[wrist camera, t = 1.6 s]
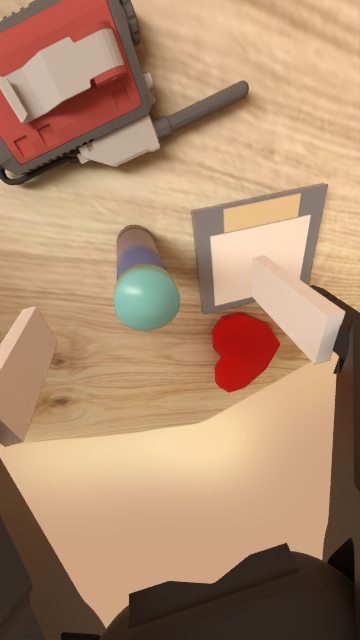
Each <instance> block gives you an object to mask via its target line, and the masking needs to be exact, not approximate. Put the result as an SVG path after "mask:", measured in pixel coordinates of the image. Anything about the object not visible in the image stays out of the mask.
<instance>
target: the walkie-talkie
mask: <svg viewBox="0 0 360 640" xmlns="http://www.w3.org/2000/svg"><path fill="white" fill-rule="evenodd" d="M20 10H21V11H19V12H17V13H15V12H12V16H10V17H8V18H7V17H6V16H4V17H3V20H2V21H0V179H1V180H2V181H3V182H4V183H6V184H8V185H19V184H22V183H24V182H26V181H28V180H30V179H32V178H34V177H36V176H38V175H40V174H42V173H44V172H46V171H49V170H51V169H53V168H55V167H57V166H59V165H62V164H64V163H67V162H70V163H77V162H81V164H83V163H85V162H87V161H89V160H93V161H96V162H100V163H103V164H106V165H109V166H113V167H117V166H119V165H121V164H124V163H126V162H128V161H130V160H132V159H134V158H136V157H138V156H141V155H143V154H145V153H147V152H154V151H156V150H158V149H160V145H159V141H161V140H163V139H165V138H167V137H169V136H171V134H172V132H175V131H177V130H179V129H181V128H183V127H185V126H187V125H189V124H191V123H193V122H195V121H197V120H199V119H202V118H204V117H206V116H208V115H210V114H212V113H214V112H216V111H218V110H220V109H222V108H224V107H226V106H229V105H231V104H233V103H235V102H237V101H239V100H241V99H243V98H245V97H246V96H247V94H248V90H249V86H248V83H247V82H246V81H240V82H238V83H236V84H234V85H232V86H230V87H228V88H226V89H224V90H221V91H219V92H217V93H215V94H213V95H211V96H209V97H207V98H205V99H203V100H201V101H199V102H197V103H195V104H193V105H191V106H189V107H187V108H185V109H182V110H180V111H178V112H176V113H174V114H172V115H170V116H168V117H166V116H165V115H164V116H162V117H160V118H158V119H156V120H154V121H151V118H150V116H149V112H150V109H151V107H152V105H154V104H156V101H155V97H154V94H153V91H152V90H150V89H152V88H153V87H154V85H153V81H152V78H151V75H150V73H149V72H148V73H145V74H144V73H143V72H142V70H141V67H140V64H139V61H138V58H137V54H136V51H135V48H134V46H136V45H137V44H139V43H140V31H139V27H138V22H137V18H136V15H135V11H134V8H133V5H132V3H131V0H35V1H33V2H31V3H29V7H27V8H25V9H24V8H23V7H22V8H20ZM149 90H150V91H149ZM73 150H79V151H80V153H79V154H77V156H76V157H69V156H66V155H67V153H73ZM61 156H66V157H62V158H61ZM55 159H56V160H55ZM49 162H50V163H49ZM43 165H44V166H43ZM37 168H38V169H37ZM5 170H8V171H11V172H14V173H17V174H20V175H24V174H26V175H24V176H22V177H20V178H18V179H10V178H8V177H7V175H6V173H5ZM31 171H32V172H31Z"/></svg>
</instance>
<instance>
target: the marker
mask: <svg viewBox="0 0 360 640" xmlns="http://www.w3.org/2000/svg"><path fill="white" fill-rule="evenodd" d="M114 306H115V311H116V314H117V316H118V317H119V319H120V320H121V321H122V322H123V323H124V324H126V325H127V326H129V327H131V328H133V329H136V330H142V331H149V330H155V329H158V328H161V327H163V326H165V325H166V324H168V323H169V322H170V321H171V320H172V319H173V318H174V317H175V315H176V314H177V312H178V310H179V306H180V296H179V292H178V290H177V288H176V285H175V283H174V281H173V279H172V277H171V276H170V274H169V273H168V272H167V271H166V268H165V266H164V264H163V261H162V259H161V257H160V254H159V252H158V249H157V247H156V245H155V242H154V240H153V238H152V235H151V234H150V232H149V231H148V230H147V229H145V228H144V227H142V226H139V225H130V226H127V227H125V228H124V229H123V230H122V231H121V232H120V233H119V235H118V238H117V282H116V285H115V292H114Z"/></svg>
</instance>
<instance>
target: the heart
mask: <svg viewBox="0 0 360 640" xmlns="http://www.w3.org/2000/svg"><path fill="white" fill-rule="evenodd" d="M212 337H213V348H214V350H215V351H216V352H217V353H218V354H219V355H221V358H220V360H219V361H218V363H217V364H216V366H215V382H216V384H217V385H218V386H219V387H220V388H222V389H224V390H225V391H227V392H233V391H236V390H239V389H242V388H245V387H246V386H247V385H248V384H249V383H251V382H252V381H253V380H254V379H255V378H256V377H257V376H259V375H260V374H261V373H262V372H263V371H264V370H265V369H266V368H267V366H268V365H269V363H270V361H271V360H272V358H273V356H274V355H275V353H276V351H277V349H278V348H279V346H280V343H279V341H278V340H277V338H276V337H275V335H274V334H273V332H272V330H271V329H270V327H269V326H268V325H267V324H266V323H265V322H262V321H259V320H257V319H254V318H252V317H249V316H247V315H244V314H241V313H235V314H231V315H227V316H223V317H221V319H220V320H219V322H218V323H217V325H216V326H215V327H214V329H213V330H212Z"/></svg>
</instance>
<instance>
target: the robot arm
mask: <svg viewBox="0 0 360 640" xmlns="http://www.w3.org/2000/svg"><path fill="white" fill-rule="evenodd" d="M251 296H252V297H253V298H254V299H255V300H256V302H257V303H258V304H259V305H260V306H261V307H262V308H263V309H264V310H265V311H266V312H267V313H268V315H269V316H270V317H271V318H272V319H273V320H274V321H275V322H276V323H277V324H278V325H279V327H280V328H281V329H282V330H283V331H284V332H285V333H286V334H287V335H288V336H289V337H290V338H291V340H292V341H293V342H294V343H295V344H296V345H297V346H298V347H299V348H300V349H301V350H302V352H303V353H304V354H305V355H306V356H307V357H308V358H309V359H310V360H311V361H312V362H313V363H314V365H315V364H319V363H322V362H326V361H330V359H331V355H332V352H333V351H334V352H335V353H337V355H338V356H339V359H338V362H337V365H336V367H335V370H334V374H336V373H337V377H336V396H335V414H334V431H333V450H332V467H331V487H330V503H329V518H328V525H327V529H326V533H325V538H324V547H323V559H322V560H320V559H318V558H315V557H313V556H310V555H307V554H304V553H299V552H293V551H290V549H289V547H288V545H287V543H285V544H282V545H279V546H276V547H273V548H270V549H267V550H264V551H260V552H257V553H255V554H251V555H249V556H248V557H247V558H245V559H244V560H243V561H241V562H240V563H239V564H238V565H236V566H235V567H234V568H233V569H232V570H230V571H229V572H228V573H227V574H225V575H224V576H223V577H222V578H220V579H219V580H218V581H216V582H215V583H212V584H206V583H191V582H176V581H168V582H165V583H162V584H159V585H155V586H152V587H149V588H146V589H143V590H140V591H137V592H134V593H131V594H129V605H128V606H127V607H126V608H124V609H123V610H122V611H121V612H120V613H119V614H118V615H117V616H116V618H115V619H114V620H113V621H112V622H111V624H110V625H109V626H108V627H107V629H106V628H105V626H104V625H103V623H102V621H101V620H100V618H99V617H98V616H97V614H96V613H95V612H94V611H93V609H91V607H89V605H88V604H87V603H85V602H84V600H83V599H82V597H81V596H80V594H79V593H78V591H77V589H76V587H75V586H74V584H73V582H72V581H71V579H70V577H69V575H68V574H67V572H66V570H65V569H64V567H63V565H62V563H61V562H60V560H59V558H58V557H57V555H56V553H55V551H54V550H53V548H52V546H51V544H50V543H49V541H48V539H47V538H46V536H45V534H44V533H43V531H42V529H41V527H40V526H39V524H38V522H37V521H36V519H35V517H34V515H33V514H32V512H31V510H30V508H29V507H28V505H27V503H26V501H25V500H24V498H23V496H22V495H21V493H20V491H19V489H18V488H17V486H16V485H15V483H14V481H13V479H12V477H11V476H10V474H9V473H8V471H7V469H6V467H5V466H4V464H3V462H2V460H1V459H0V640H360V313H359V312H358V311H356V310H355V309H353V308H352V307H350V306H349V305H347V304H346V303H344V302H343V301H341V300H340V299H337V297H335V296H334V295H331V293H329V292H328V291H326V290H325V289H323V288H320V287H317V286H314V285H312V286H308V285H307V284H305V283H304V282H302V281H301V280H299V279H298V278H297V277H295V276H294V275H292V274H291V273H289V272H288V271H287V270H285V269H284V268H282V267H281V266H279V265H278V264H277V263H275V262H274V261H272V260H271V259H269V258H268V257H267V256H265V255H262V256H258V257H253V264H252V292H251ZM57 343H58V341H57V339H56V338H55V336H54V334H53V333H52V331H51V329H50V328H49V326H48V324H47V323H46V321H45V319H44V318H43V316H42V314H41V313H40V311H39V309H38V308H37V306H34V307H30V308H25V309H23V310H22V311H21V313H20V314H19V316H18V318H17V319H16V321H15V322H14V324H13V325H12V327H11V329H10V330H9V332H8V333H7V335H6V336H5V338H4V339H3V341H2V343H1V344H0V443H1V444H2V445H3V446H5V447H6V446H10V445H14V444H17V443H21V442H24V439H25V436H26V433H27V431H28V428H29V425H30V422H31V419H32V416H33V413H34V410H35V407H36V404H37V401H38V398H39V395H40V393H41V390H42V387H43V384H44V381H45V378H46V375H47V372H48V369H49V366H50V363H51V360H52V357H53V355H54V352H55V349H56V346H57Z"/></svg>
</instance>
